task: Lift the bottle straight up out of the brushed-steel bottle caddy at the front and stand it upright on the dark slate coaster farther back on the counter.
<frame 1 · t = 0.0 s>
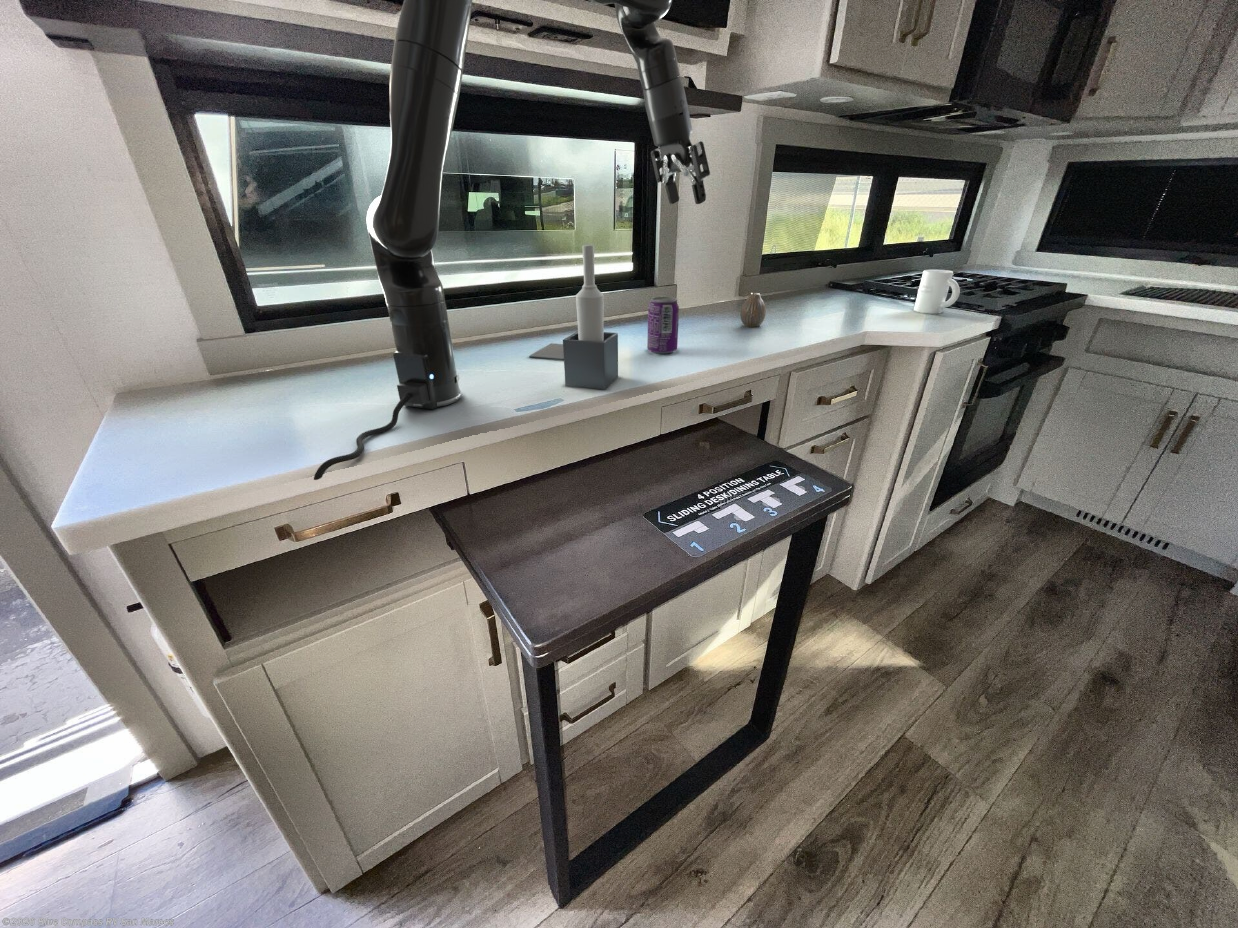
hand: (687, 202, 104), 31 cm above the worktop, tool tilted 20°, fingers open, 8 cm apart
bottle: (592, 382, 101), resting in caddy
caddy: (592, 381, 101), on the worktop
coaster: (563, 353, 120), on the worktop
vase: (751, 326, 144), on the worktop
mug: (933, 313, 159), on the worktop
beverage can: (662, 352, 120), on the worktop
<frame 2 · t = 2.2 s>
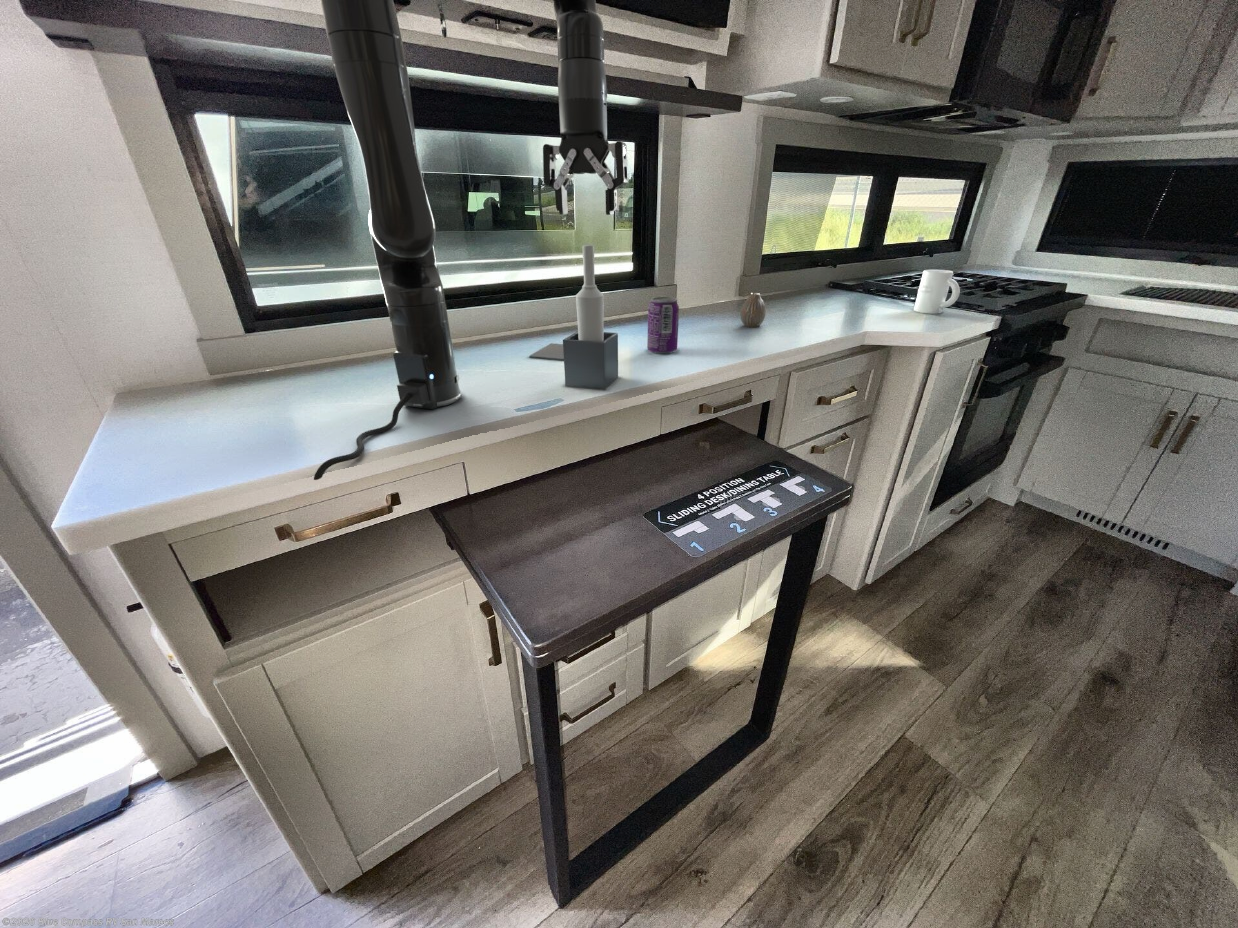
hand: (586, 214, 87), 30 cm above the worktop, tool pointing down, fingers open, 8 cm apart
nothing on the worktop moved.
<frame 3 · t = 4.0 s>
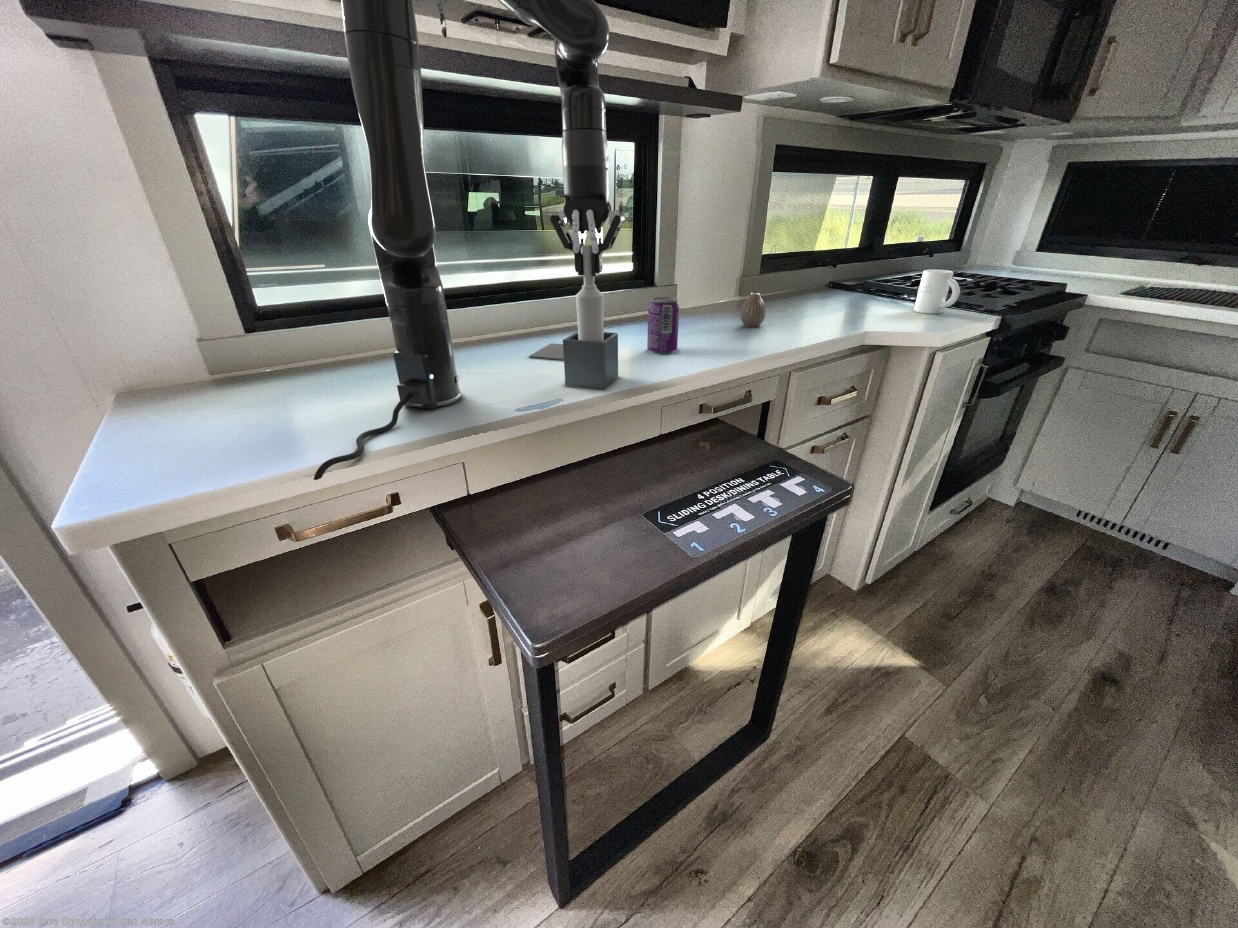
hand: (589, 275, 91), 20 cm above the worktop, tool pointing down, fingers closed on bottle, 2 cm apart
bottle: (592, 382, 101), resting in caddy, touching gripper
everything else where it was.
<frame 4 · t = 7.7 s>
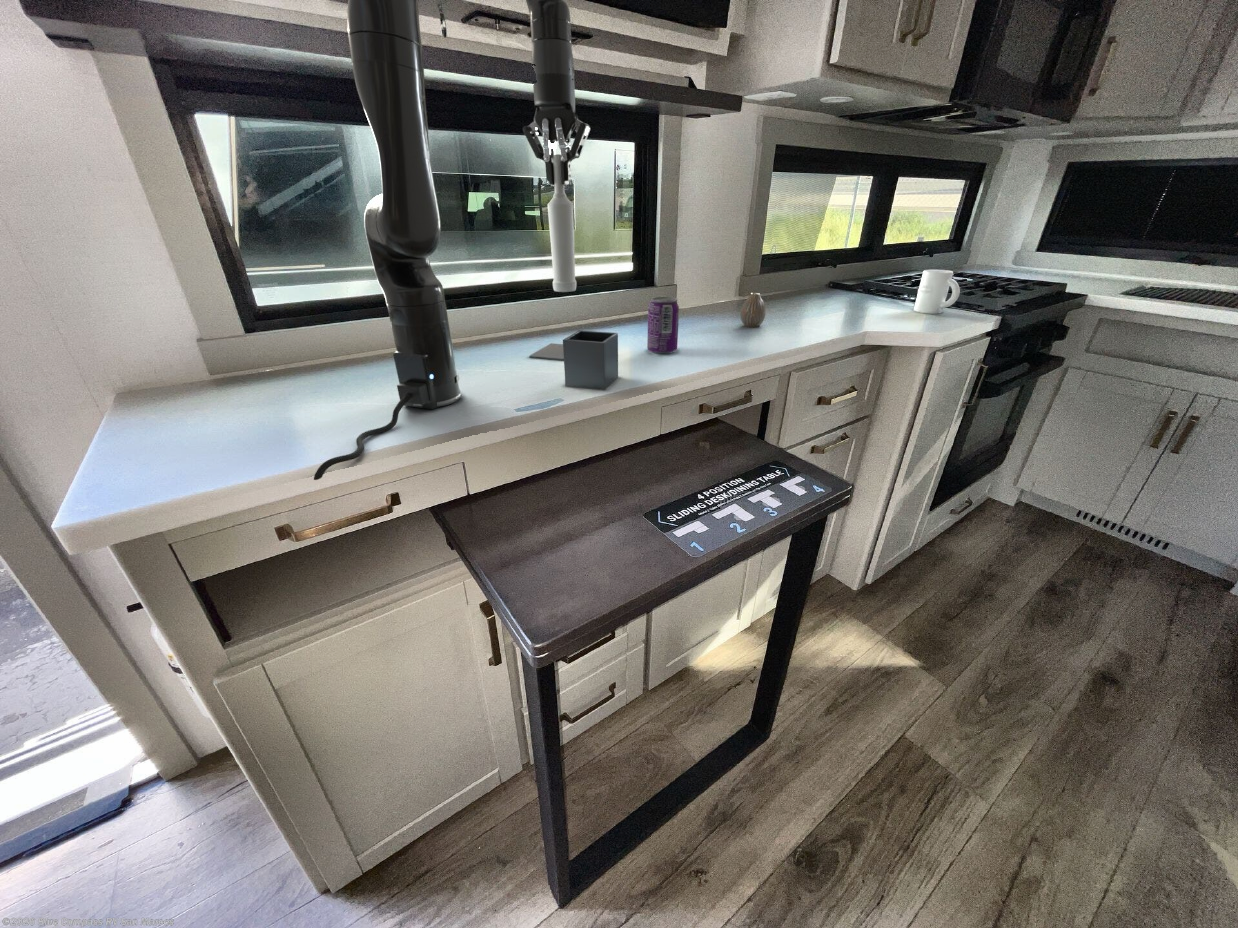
hand: (559, 184, 100), 35 cm above the worktop, tool pointing down, fingers closed on bottle
bottle: (565, 291, 109), point 15 cm above the worktop, touching gripper
everything else where it was.
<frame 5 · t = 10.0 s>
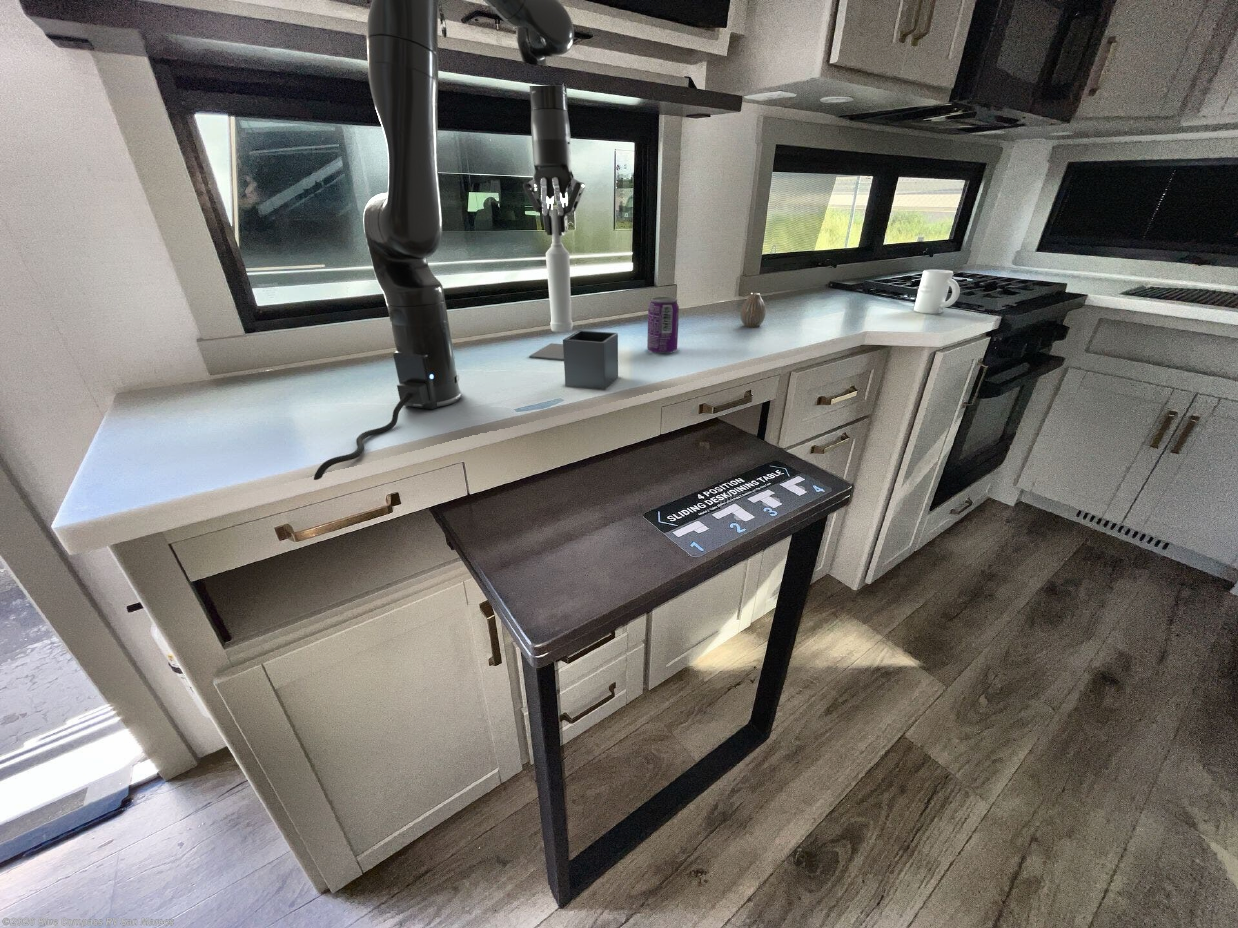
hand: (556, 235, 108), 26 cm above the worktop, tool pointing down, fingers closed on bottle
bottle: (562, 330, 117), point 5 cm above the worktop, touching gripper
everything else where it was.
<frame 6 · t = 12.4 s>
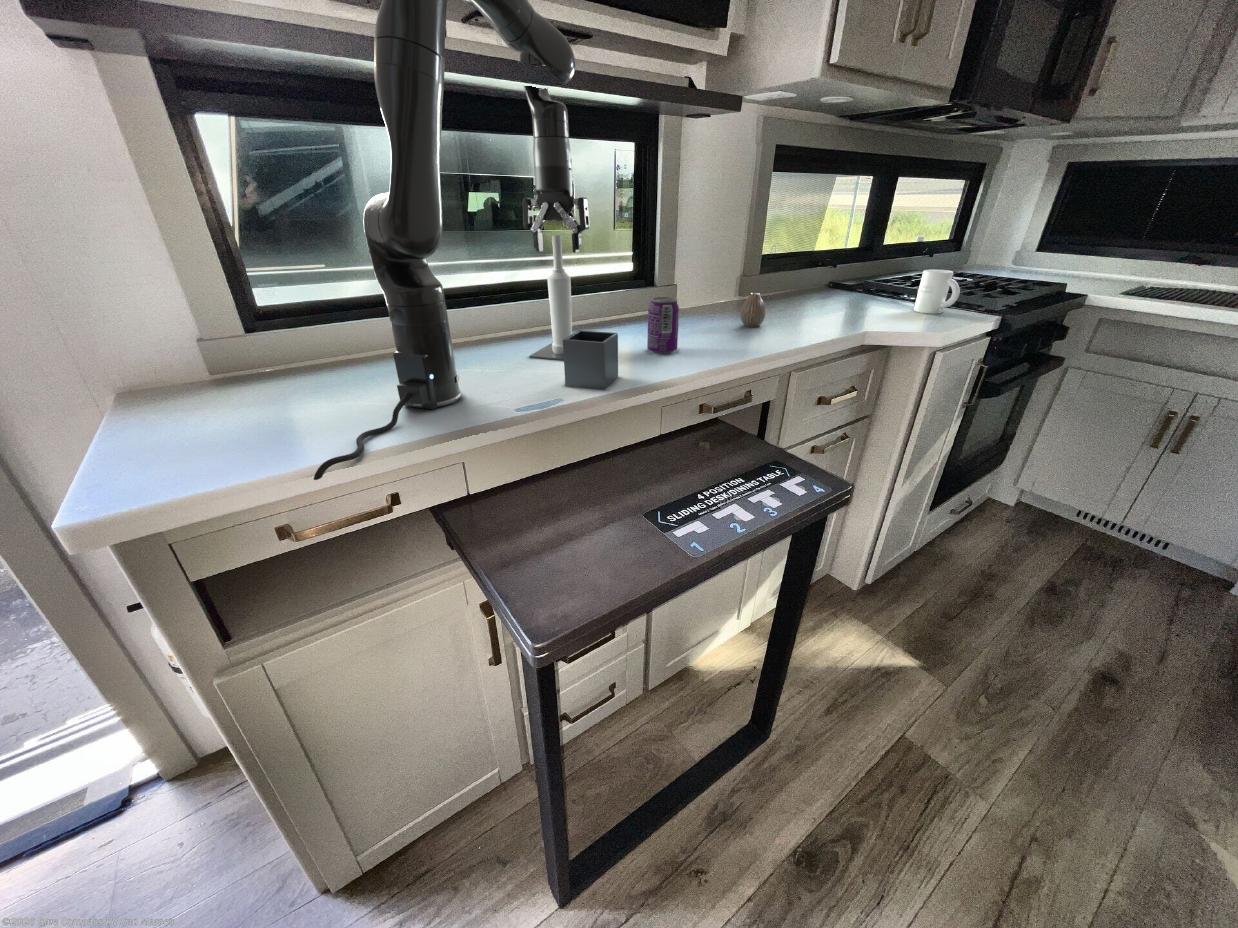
hand: (557, 251, 109), 22 cm above the worktop, tool pointing down, fingers open, 8 cm apart
bottle: (563, 352, 120), resting on coaster
everything else where it was.
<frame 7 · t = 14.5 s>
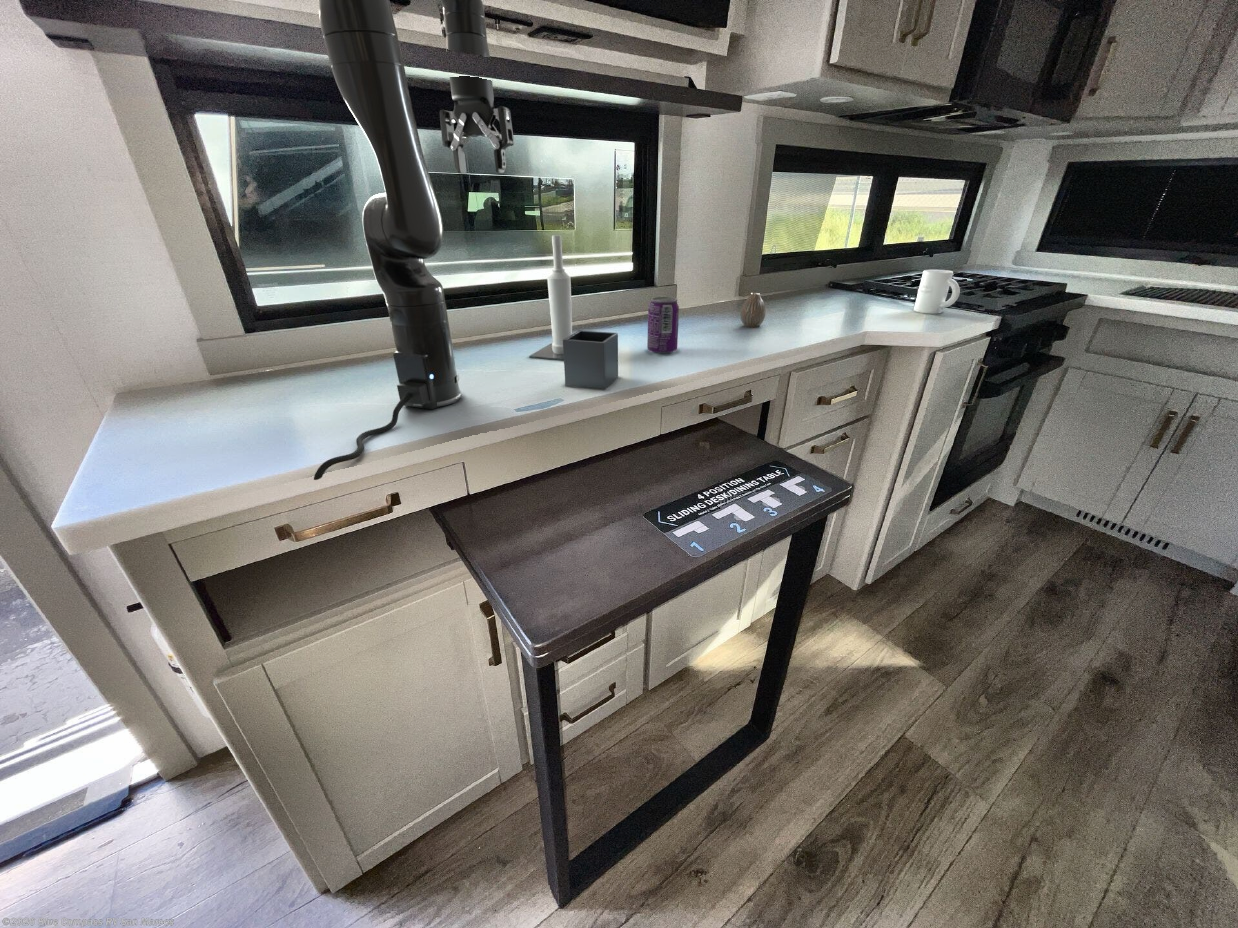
hand: (481, 173, 99), 37 cm above the worktop, tool pointing down, fingers open, 8 cm apart
nothing on the worktop moved.
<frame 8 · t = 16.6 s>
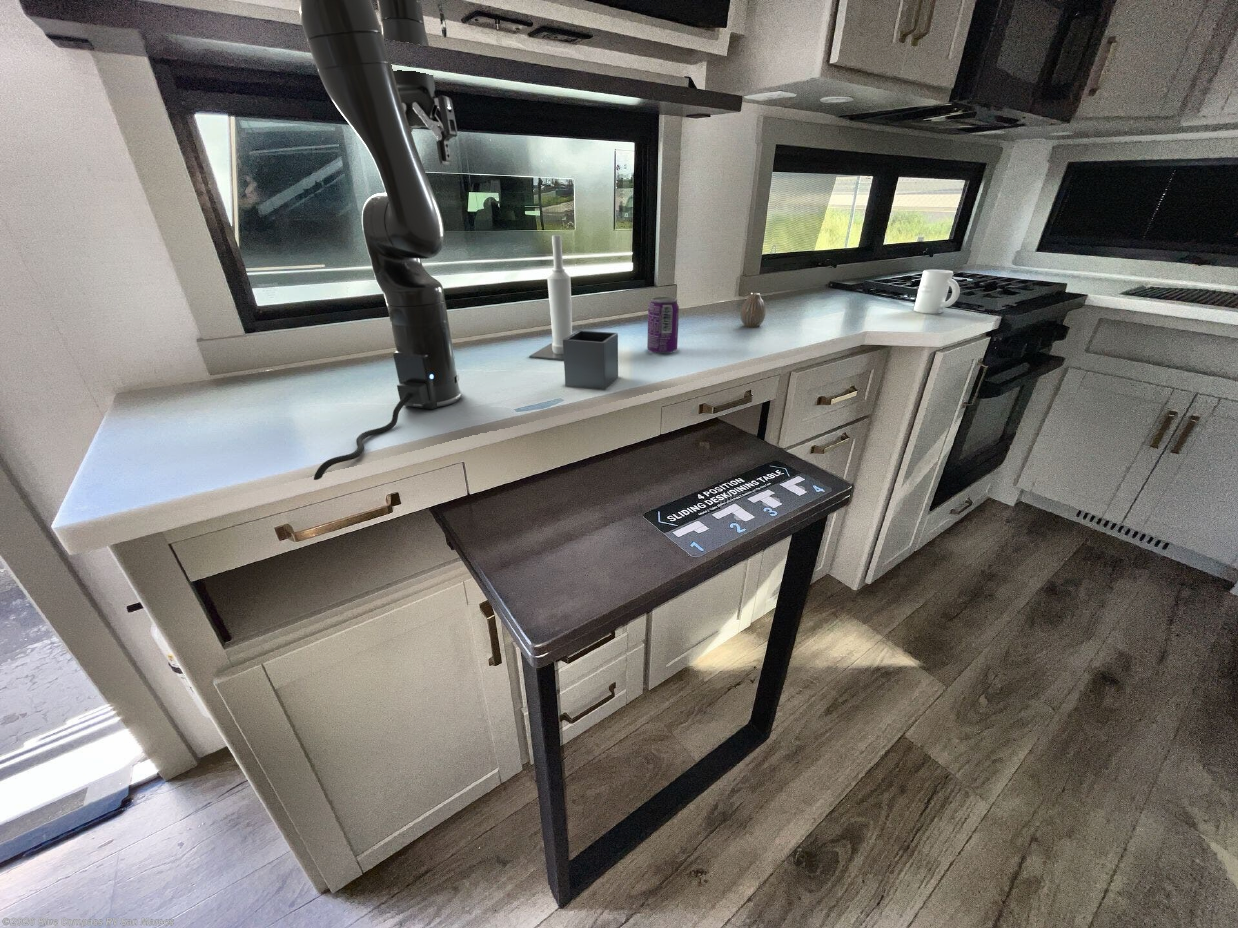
hand: (425, 165, 96), 38 cm above the worktop, tool pointing down, fingers open, 8 cm apart
nothing on the worktop moved.
at the end: bottle 0.1 cm off-centre on the coaster, point 0.2 cm above the coaster's base; bottle tilted 0°; the gripper is holding nothing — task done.
